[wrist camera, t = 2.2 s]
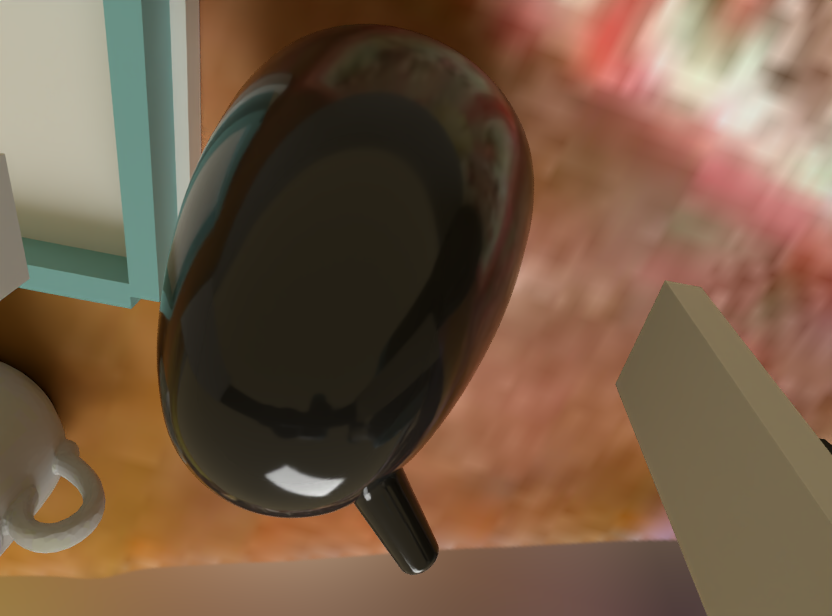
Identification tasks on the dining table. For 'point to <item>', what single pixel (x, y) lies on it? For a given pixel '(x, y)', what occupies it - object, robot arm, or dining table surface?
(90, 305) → the dining table surface
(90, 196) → the dock
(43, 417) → the teacup
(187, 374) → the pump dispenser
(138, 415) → the dining table surface
